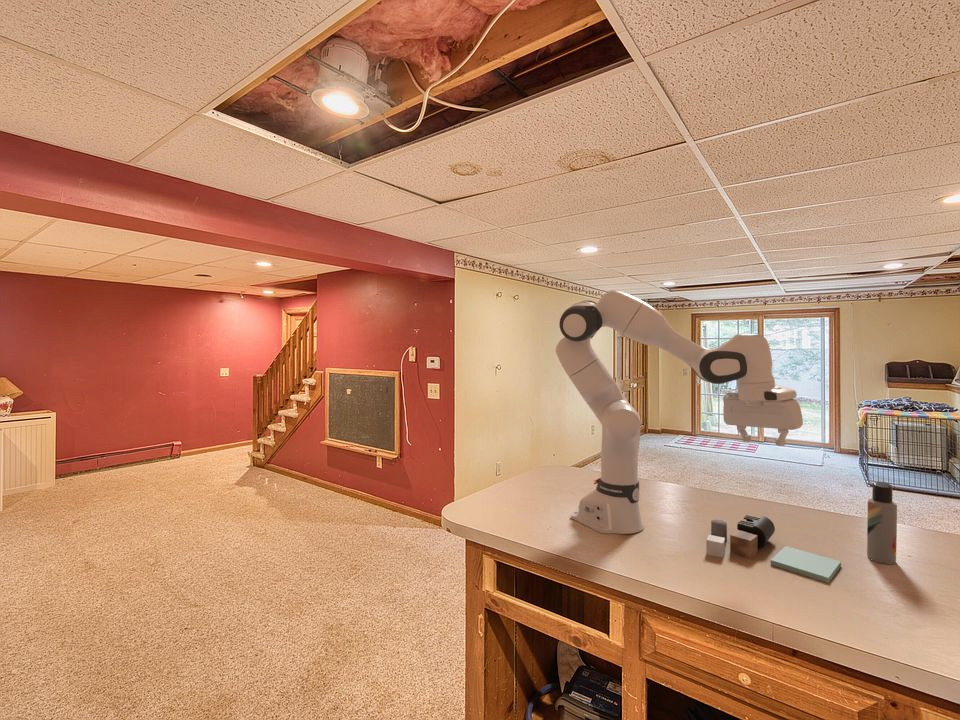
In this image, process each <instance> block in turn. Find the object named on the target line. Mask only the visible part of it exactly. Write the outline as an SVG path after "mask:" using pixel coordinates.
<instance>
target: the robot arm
mask: <svg viewBox="0 0 960 720" xmlns="http://www.w3.org/2000/svg"><path fill="white" fill-rule="evenodd" d="M560 316H561V317H560V319H559V324H558V325H559V330H560V332H561V334H562V335H563V337H562V338H561V339H560V340H559V341H558V342H557V345H556V347H555V353H556V356H557V358H558V361H559V362H560V365H561V367H562V368H563V371H564V372H565V374H566V375H567V376H568V379H570V381H571V382H572V384H573V385H574V387H575V388H576V389H577V391H578V393H579V395H580V396H581V398H583V399H582V400H584V401H585V403H586V404H587V406H588V407H589V409H590V410H591V411H592V413H593V415H594V416H595V417H596V418H597V420H598V421H599V422H600V425H601V450H600V477H599V478H597V479H596V480H593V485H596V484H597V485H596V486H595V487H596V488H594V489H593V490H592V491H590V492H589V493H587V494H586V495H584V496H582V498H581V499H580V501H579V504H578V509H576V510H574V511H573V512H572V513H571V519H572V520H574V521H576V522H578V523H580V524H582V525H585V526H587V527H588V528H590V529H592V530H594V531H597V532H598V533H600V534H604V535H605V534H621V535H622V534H623V535H625V534H626V535H627V534H636V533H639V532H641V531H643V530H644V524H643V520H642V517H641V516H642V515H641V510H640V504H639V502H640V501H639V500H640V481H639V472H638V471H639V470H638V469H639V468H638V467H639V466H638V465H639V462H638V461H639V450H640V449H639V448H640V439H641V425H642V423H641V416H640V414H639V413H638V411H637V410H636V409H635V408H634V407H633V406H632V405H631V404H630V403H629V400H628V399H627V398H626V397H625V395H624V393H623V392H622V390H621V389H620V387H619V385H618V384H617V382H616V381H615V379H614V377H613V376H612V375H611V373H610V372H609V370H608V369H607V368H606V366H605V364H604V363H603V362H602V360H601V359H600V357H599V356H598V354H597V353H596V351H595V350H594V349H593V347H592V344H591V339H593V337H594V336H595V335H596V334H598V332H599V331H600V329H601V328H604V327H608V328H611V329H613V330H615V331H617V332H618V333H620V334H622V335H623V336H624V337H626V338H628V339H630V340H633V341H635V342H637V343H641V344H642V345H643V344H644V345H646V346H651V347H656V348H658V349H661V350H664V351H665V352H668V353H669V354H671V355H672V356H674V357H676V358H677V359H679V360H681V361H683V362H684V363H686V364H687V365H688V366H689V367H690V368H691V369H692V370H693V372H694V374H695V375H696V376H697V377H698V378H699V379H701V380H702V381H704V382H705V383H710V384H713V385H723V384H727V383H729V382H732V381H736V386H737V392H731V391H729V392H727V393H726V394H724V396H723V397H722V401H723V406H722V407H723V411H722V412H723V413H722V415H723V421H724V423H725V424H726V425H727V426H736V430H737V431H738V433H739V434H740V436H741V439H742V440H741V441H742V442H743V443H751V442H752V435H751V434H748V432H747V430H746V429H747V427H750V428H751V427H752V428H765V429H775V430H776V429H777V433H779V436H778V438H775V439H774V441H775V445H776V446H777V447H779V446H780V447H783V446H786V438H787V436H788V434H789V430H790V431H792V430H793V431H794V430H799V429H801V428H802V426H803V424H804V418H803V414H802V408H801V406H800V403H799V402H798V401H797V400H796V398H797V395H798V394H797V391H796V390H795V389H792V388H788V387H785V386H782V385H779V384H776V381H775V377H774V375H773V372H772V369H773V359H772V358H773V357H772V352H771V348H770V344H769V342H768V340H767V338H766V337H765V336H763V335H762V334H756V333H738V334H737V333H736V334H735V335H733V336H732V337H731V339H729V340H727V341H726V342H725V343H723V344H721V345H718V346H717V347H715V348H712V347H711V348H710V347H704V346H702V345H699V344H697V343H696V342H694V341H692V340H690V339H689V338H687V337H685V336H684V335H682V334H681V333H679V332H677V331H676V330H675V329H674V328H673V327H672V326H671V325H670V324H669V322H668V320H667V318H665V316H664V314H662V313H661V312H660V311H659V310H657V309H656V308H654V307H653V306H652V305H650V304H649V303H647V302H645V301H643V300H641V299H640V298H638V297H635V296H633V295H631V294H628V293H625V292H623V291H620V290H616V289H612V290H611V289H610V290H609V291H607V292H606V293H604V294H603V295H602V296H601V297H600V299H599V301H597V302H595V301H592V300H583V301H579V302H575V303H573V304H572V305H571V306H570V307H568V308H566V309H565V310H564V311H563V313H562V314H561V315H560Z"/></svg>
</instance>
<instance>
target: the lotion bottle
mask: <svg viewBox="0 0 960 720" xmlns="http://www.w3.org/2000/svg"><path fill="white" fill-rule="evenodd" d="M871 495H872V496H871V498H869V499H868V500H867V527H866V530H867V531H866V534H867V535H866V546H867V547H866V556H867V558H868V559H870V560H871V561H873V562H876V563H879V564H884V565H894V564H896V562H897V533H898V532H897V531H898V530H897V529H898V528H897V527H898V505H897V503H896V502H893V485H892V484H890V483H889V482H885V481H874V482H872V494H871Z"/></svg>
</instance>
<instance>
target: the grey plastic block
mask: <svg viewBox="0 0 960 720" xmlns="http://www.w3.org/2000/svg"><path fill="white" fill-rule="evenodd" d="M705 541H706V548H705V549H706V555H709V556H712V557H713V556H714V557H717V558H721V559H724V557H725V553H726V542H725V538H723V537H718V536H713V535H711V534H708V535H707V538H706V540H705Z"/></svg>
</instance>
